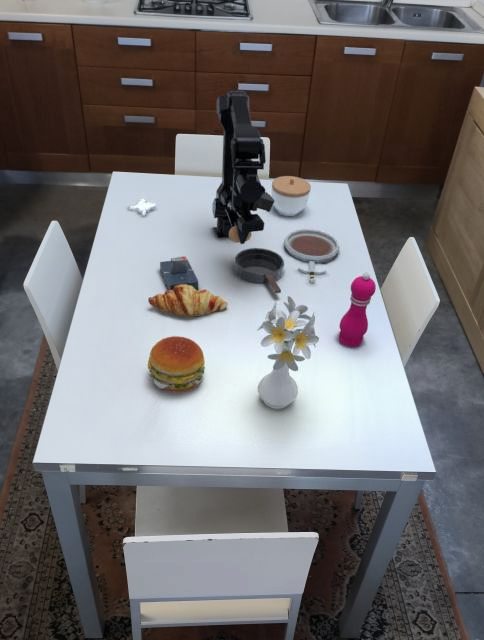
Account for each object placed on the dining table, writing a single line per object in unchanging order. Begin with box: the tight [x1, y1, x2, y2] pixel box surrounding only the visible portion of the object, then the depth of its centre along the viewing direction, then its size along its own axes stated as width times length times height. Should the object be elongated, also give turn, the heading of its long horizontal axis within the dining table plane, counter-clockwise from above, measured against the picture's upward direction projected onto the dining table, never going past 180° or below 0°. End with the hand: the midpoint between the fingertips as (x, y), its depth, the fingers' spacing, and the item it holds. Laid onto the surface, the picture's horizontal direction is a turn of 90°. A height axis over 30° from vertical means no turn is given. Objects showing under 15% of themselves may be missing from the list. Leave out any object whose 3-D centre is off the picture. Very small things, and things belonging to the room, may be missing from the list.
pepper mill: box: [338, 272, 377, 348], centre depth 161 cm, size 7×7×20 cm
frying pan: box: [283, 228, 340, 285], centre depth 193 cm, size 17×3×28 cm
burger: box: [147, 335, 206, 393], centre depth 150 cm, size 14×14×10 cm
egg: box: [228, 226, 253, 244], centre depth 177 cm, size 4×6×4 cm
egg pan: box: [233, 247, 285, 284], centre depth 186 cm, size 14×14×4 cm
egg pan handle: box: [265, 274, 282, 294], centre depth 178 cm, size 8×2×1 cm, turn 18°
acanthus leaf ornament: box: [129, 198, 157, 217], centre depth 208 cm, size 8×7×2 cm
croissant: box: [147, 284, 229, 318], centre depth 171 cm, size 21×10×8 cm, turn 95°
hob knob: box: [170, 255, 188, 274], centre depth 178 cm, size 4×2×4 cm, turn 107°
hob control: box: [159, 259, 199, 291], centre depth 180 cm, size 12×8×3 cm
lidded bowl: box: [271, 175, 312, 217], centre depth 210 cm, size 13×13×11 cm
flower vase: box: [256, 295, 320, 410], centre depth 141 cm, size 13×18×25 cm
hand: (239, 239), depth 178 cm, fingers closed on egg, 4 cm apart
